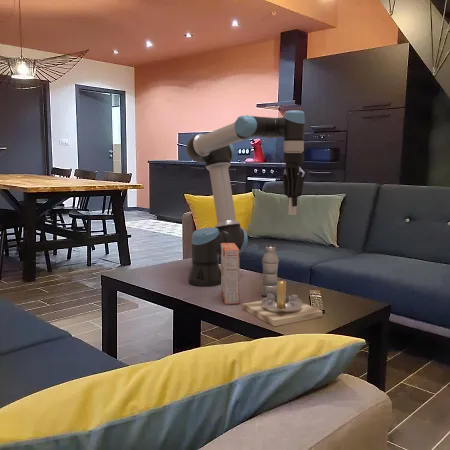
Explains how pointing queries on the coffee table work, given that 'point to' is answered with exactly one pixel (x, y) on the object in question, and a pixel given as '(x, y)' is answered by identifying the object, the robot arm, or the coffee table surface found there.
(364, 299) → the coffee table surface
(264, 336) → the coffee table surface
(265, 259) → the plastic bottle
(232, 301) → the cracker box
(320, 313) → the nut board
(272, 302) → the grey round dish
